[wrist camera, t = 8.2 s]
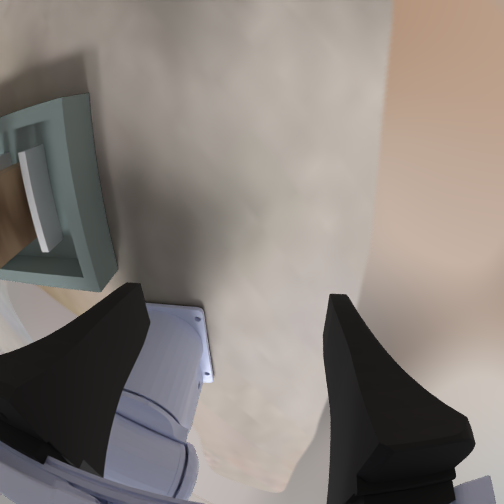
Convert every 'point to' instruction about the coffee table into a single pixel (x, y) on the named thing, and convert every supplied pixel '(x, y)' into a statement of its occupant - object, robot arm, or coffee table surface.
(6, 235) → the wood block
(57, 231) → the slotted divider tray
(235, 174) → the coffee table surface
